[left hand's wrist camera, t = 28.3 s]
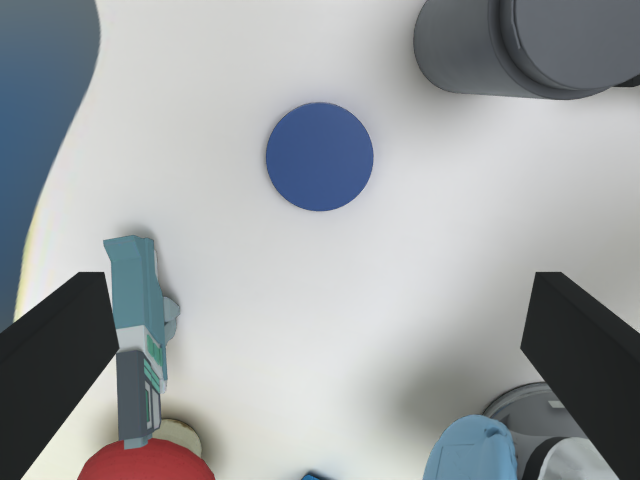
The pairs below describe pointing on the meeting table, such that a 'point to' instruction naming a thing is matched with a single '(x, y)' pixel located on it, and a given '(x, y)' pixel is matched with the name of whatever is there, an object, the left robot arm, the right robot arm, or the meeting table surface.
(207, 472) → the mushroom
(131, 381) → the toy gun
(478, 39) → the jar
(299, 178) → the lid
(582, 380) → the left robot arm
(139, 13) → the meeting table surface
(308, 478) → the logo
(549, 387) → the right robot arm
